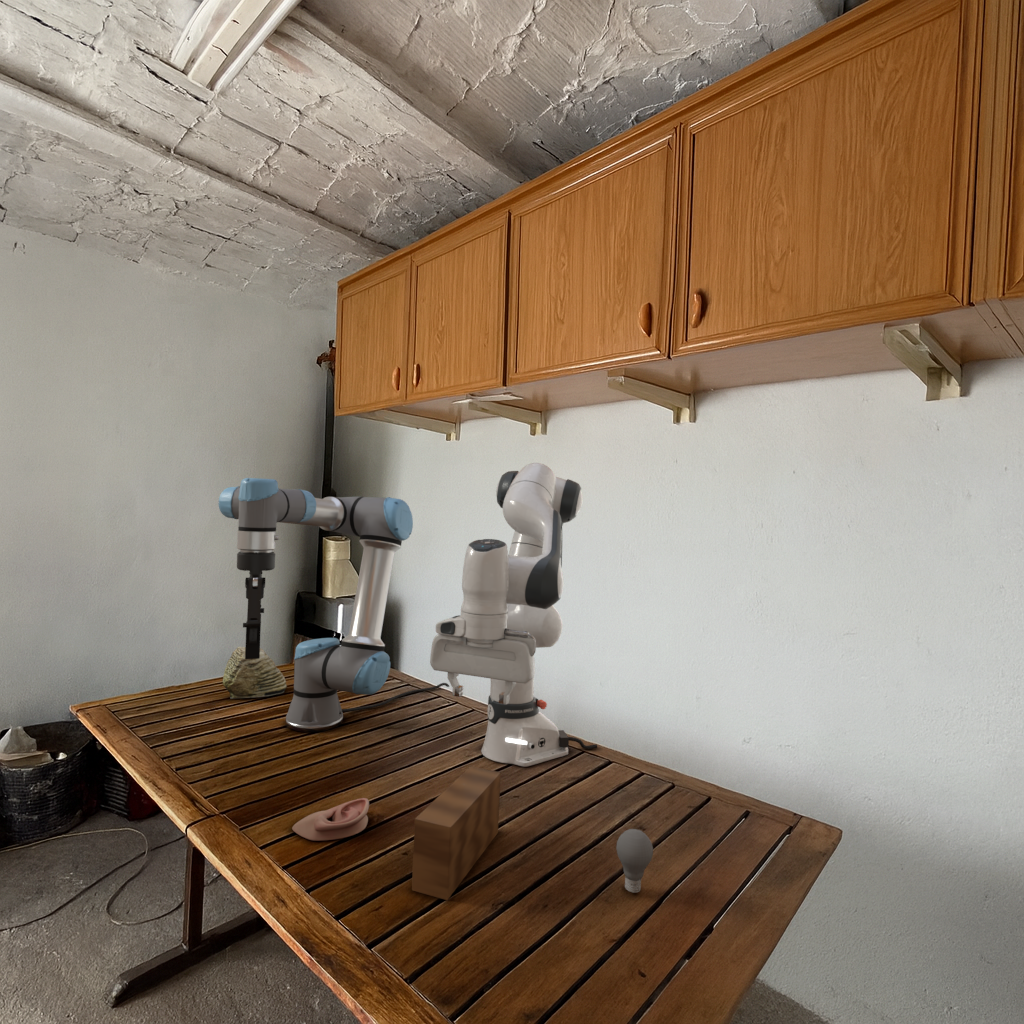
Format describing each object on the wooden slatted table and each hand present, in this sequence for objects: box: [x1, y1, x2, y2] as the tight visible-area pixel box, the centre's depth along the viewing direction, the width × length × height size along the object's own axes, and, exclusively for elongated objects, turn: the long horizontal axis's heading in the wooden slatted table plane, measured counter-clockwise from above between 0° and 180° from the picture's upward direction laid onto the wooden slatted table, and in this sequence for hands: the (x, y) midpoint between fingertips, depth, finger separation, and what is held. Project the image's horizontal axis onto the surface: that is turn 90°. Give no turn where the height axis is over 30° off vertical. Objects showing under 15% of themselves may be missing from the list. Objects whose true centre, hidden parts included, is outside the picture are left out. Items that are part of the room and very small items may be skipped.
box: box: [411, 766, 502, 901], centre depth 113 cm, size 23×6×12 cm, turn 160°
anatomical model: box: [291, 797, 370, 842], centre depth 122 cm, size 13×4×12 cm
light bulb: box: [615, 828, 654, 894], centre depth 106 cm, size 6×6×10 cm
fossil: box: [222, 646, 288, 699], centre depth 198 cm, size 9×18×15 cm, turn 132°
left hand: (252, 650), depth 135 cm, fingers open, 13 cm apart
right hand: (480, 699), depth 119 cm, fingers open, 8 cm apart
